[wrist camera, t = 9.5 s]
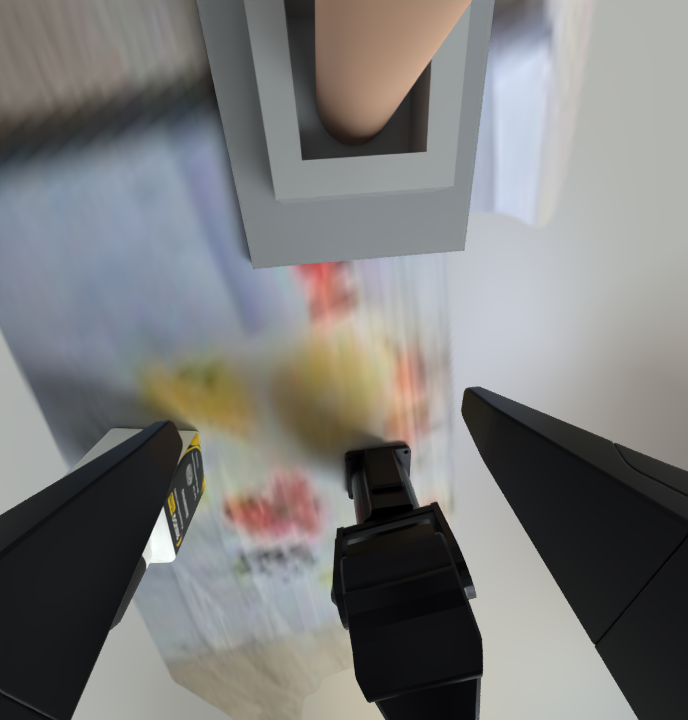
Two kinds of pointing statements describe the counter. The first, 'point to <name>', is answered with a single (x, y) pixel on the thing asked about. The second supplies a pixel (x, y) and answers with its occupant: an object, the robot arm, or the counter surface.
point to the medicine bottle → (175, 508)
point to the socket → (333, 159)
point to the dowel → (373, 58)
